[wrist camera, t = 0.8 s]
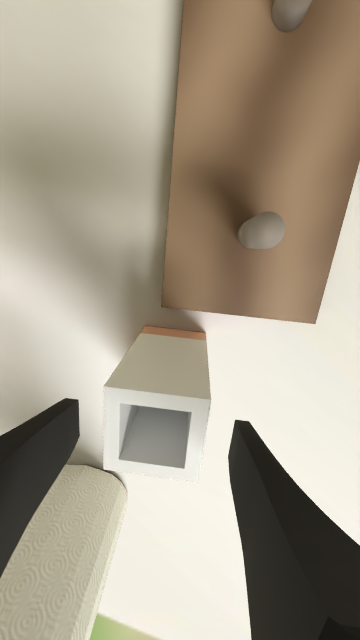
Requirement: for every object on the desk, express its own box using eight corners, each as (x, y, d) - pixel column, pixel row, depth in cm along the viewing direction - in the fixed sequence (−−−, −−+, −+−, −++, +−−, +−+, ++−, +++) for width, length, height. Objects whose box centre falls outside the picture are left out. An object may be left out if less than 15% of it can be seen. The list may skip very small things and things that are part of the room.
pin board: (421, -113, 11) (570, -354, 6) (308, 319, 17) (346, 344, 12) (195, -120, 11) (193, -350, 7) (163, 303, 17) (151, 322, 13)
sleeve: (205, 332, 17) (210, 399, 10) (198, 386, 19) (198, 482, 11) (145, 325, 18) (103, 386, 10) (142, 379, 19) (103, 469, 11)
